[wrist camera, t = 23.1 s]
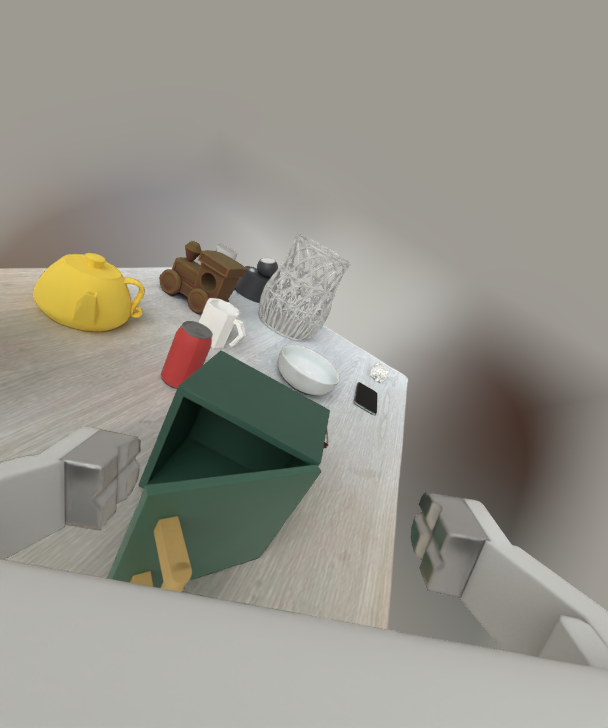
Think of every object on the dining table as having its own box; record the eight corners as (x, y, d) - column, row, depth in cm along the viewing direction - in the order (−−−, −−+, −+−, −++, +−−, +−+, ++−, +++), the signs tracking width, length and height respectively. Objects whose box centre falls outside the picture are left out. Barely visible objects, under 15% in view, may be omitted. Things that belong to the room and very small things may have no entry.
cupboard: (259, 549, 44) (320, 462, 37) (138, 485, 43) (178, 385, 37) (279, 486, 55) (330, 410, 48) (183, 434, 54) (220, 350, 48)
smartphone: (354, 401, 94) (358, 381, 108) (353, 403, 94) (357, 382, 108) (376, 414, 94) (377, 392, 107) (375, 416, 94) (376, 394, 108)
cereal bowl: (258, 367, 85) (269, 344, 82) (296, 362, 99) (307, 342, 96) (303, 410, 78) (317, 387, 75) (337, 398, 92) (350, 379, 89)
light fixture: (244, 243, 126) (276, 257, 134) (228, 281, 132) (260, 291, 140) (255, 256, 116) (288, 269, 125) (237, 296, 123) (270, 306, 131)
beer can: (175, 394, 61) (196, 341, 57) (152, 373, 63) (171, 320, 58) (201, 386, 67) (222, 337, 62) (179, 367, 69) (199, 318, 64)
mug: (186, 335, 81) (200, 300, 77) (205, 327, 89) (218, 295, 85) (227, 360, 81) (243, 326, 77) (242, 351, 88) (257, 319, 85)
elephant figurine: (363, 372, 119) (371, 358, 117) (378, 376, 124) (387, 363, 121) (372, 383, 114) (382, 370, 112) (388, 387, 119) (397, 374, 116)
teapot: (38, 284, 69) (47, 226, 64) (136, 308, 81) (151, 259, 76) (20, 334, 55) (31, 264, 50) (142, 354, 67) (160, 299, 62)
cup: (224, 292, 119) (240, 253, 113) (216, 295, 113) (233, 255, 107) (207, 283, 119) (222, 243, 113) (199, 285, 113) (215, 244, 107)
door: (277, 601, 39) (348, 514, 33) (103, 677, 28) (161, 567, 21) (256, 550, 44) (317, 464, 37) (98, 598, 32) (145, 484, 25)
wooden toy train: (228, 317, 103) (249, 268, 96) (206, 322, 92) (228, 268, 86) (178, 283, 106) (196, 234, 99) (152, 285, 95) (169, 230, 89)
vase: (300, 319, 135) (336, 251, 124) (323, 351, 117) (369, 275, 106) (246, 301, 122) (281, 223, 111) (263, 334, 104) (307, 245, 93)
